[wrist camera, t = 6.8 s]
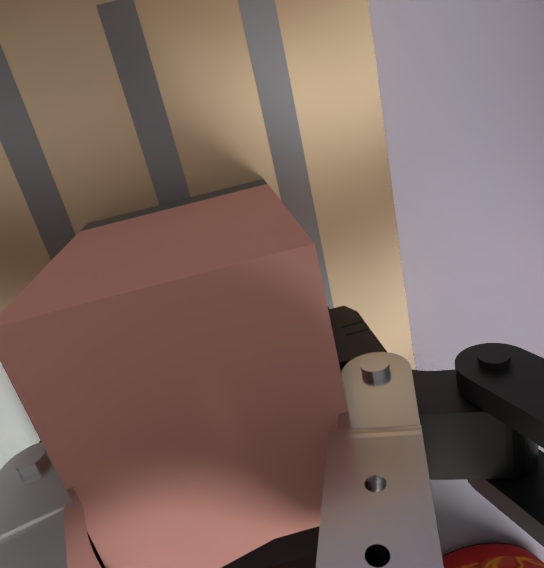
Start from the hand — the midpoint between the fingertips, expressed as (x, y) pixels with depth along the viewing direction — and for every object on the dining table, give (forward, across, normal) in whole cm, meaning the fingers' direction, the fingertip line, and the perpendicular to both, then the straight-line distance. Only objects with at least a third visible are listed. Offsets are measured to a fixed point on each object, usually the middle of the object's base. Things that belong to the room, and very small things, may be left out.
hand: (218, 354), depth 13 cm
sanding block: (+1, 0, 0) cm, 1 cm away
